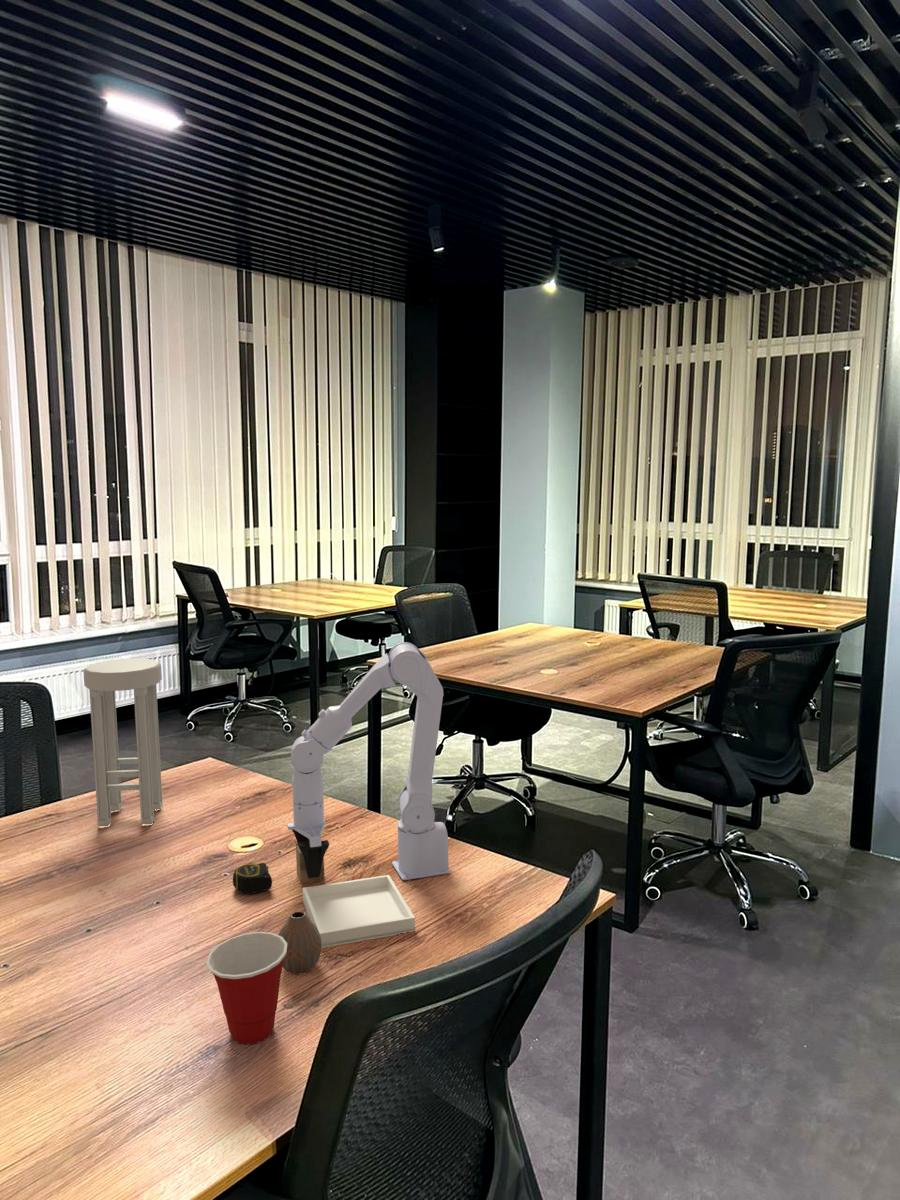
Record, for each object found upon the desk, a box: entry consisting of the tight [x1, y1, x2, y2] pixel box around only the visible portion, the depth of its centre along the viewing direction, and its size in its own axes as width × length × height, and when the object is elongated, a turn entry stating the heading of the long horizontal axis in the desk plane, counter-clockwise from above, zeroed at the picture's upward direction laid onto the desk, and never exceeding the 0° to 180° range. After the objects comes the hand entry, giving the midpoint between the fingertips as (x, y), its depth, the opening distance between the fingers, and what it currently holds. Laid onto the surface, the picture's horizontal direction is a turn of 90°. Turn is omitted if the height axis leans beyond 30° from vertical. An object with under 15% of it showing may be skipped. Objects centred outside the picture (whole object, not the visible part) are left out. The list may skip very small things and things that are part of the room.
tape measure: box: [232, 862, 273, 894], centre depth 164 cm, size 7×7×4 cm
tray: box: [302, 874, 416, 949], centre depth 153 cm, size 16×17×2 cm
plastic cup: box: [205, 931, 287, 1045], centre depth 120 cm, size 11×11×12 cm
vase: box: [278, 910, 322, 975], centre depth 137 cm, size 7×7×9 cm
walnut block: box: [295, 843, 325, 884], centre depth 168 cm, size 4×4×6 cm
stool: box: [83, 657, 164, 827], centre depth 196 cm, size 16×16×35 cm
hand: (310, 868), depth 168 cm, fingers open, 7 cm apart
